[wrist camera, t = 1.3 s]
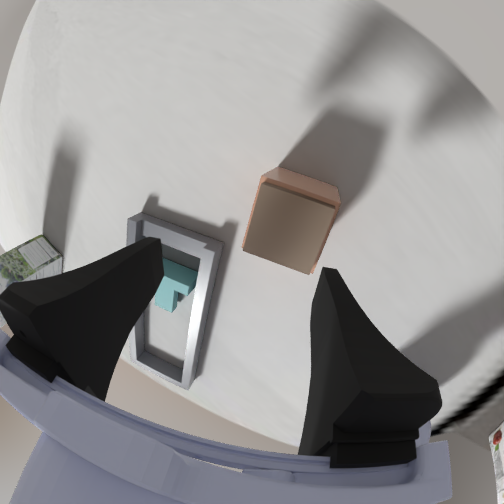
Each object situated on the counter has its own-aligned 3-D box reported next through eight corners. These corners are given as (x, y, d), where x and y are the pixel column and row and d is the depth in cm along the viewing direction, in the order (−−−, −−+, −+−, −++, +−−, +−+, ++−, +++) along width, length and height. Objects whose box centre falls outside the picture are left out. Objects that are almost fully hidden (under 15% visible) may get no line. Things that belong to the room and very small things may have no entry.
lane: (223, 242, 22) (214, 252, 21) (194, 379, 31) (188, 390, 30) (140, 212, 23) (127, 218, 22) (138, 351, 32) (130, 361, 31)
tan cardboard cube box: (337, 187, 18) (341, 206, 13) (316, 242, 20) (311, 280, 15) (277, 166, 19) (257, 177, 14) (261, 222, 21) (237, 252, 16)
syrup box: (41, 261, 32) (-26, 306, 20) (42, 231, 30) (-35, 275, 17) (62, 283, 32) (-7, 336, 20) (63, 254, 30) (-17, 308, 17)
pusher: (200, 273, 24) (188, 286, 22) (193, 314, 26) (182, 328, 24) (147, 251, 25) (132, 261, 22) (145, 291, 27) (132, 303, 25)
